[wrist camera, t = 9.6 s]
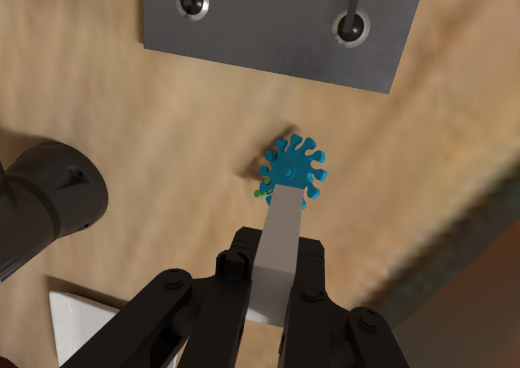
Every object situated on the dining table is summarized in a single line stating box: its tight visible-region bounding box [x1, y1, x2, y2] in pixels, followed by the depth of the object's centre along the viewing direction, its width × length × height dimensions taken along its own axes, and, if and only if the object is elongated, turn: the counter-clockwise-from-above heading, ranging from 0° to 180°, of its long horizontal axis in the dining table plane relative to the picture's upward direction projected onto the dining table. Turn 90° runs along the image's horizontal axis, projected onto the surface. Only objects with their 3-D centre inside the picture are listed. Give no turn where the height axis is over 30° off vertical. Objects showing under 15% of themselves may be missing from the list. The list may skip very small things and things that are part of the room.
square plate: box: [49, 291, 178, 368], centre depth 70 cm, size 27×27×4 cm
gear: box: [254, 134, 327, 209], centre depth 43 cm, size 11×6×10 cm
